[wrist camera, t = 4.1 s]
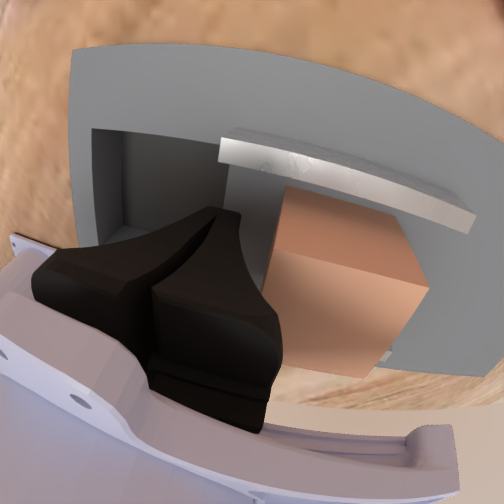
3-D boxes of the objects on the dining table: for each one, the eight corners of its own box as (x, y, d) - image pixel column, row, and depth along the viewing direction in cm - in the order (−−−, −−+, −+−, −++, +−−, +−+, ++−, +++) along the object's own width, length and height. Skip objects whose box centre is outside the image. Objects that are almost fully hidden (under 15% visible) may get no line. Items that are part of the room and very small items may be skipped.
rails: (380, 331, 14) (385, 361, 13) (211, 293, 15) (199, 321, 13) (455, 193, 10) (476, 215, 8) (235, 126, 10) (221, 137, 8)
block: (355, 299, 13) (364, 378, 10) (263, 277, 14) (244, 355, 10) (394, 215, 11) (429, 287, 7) (286, 185, 11) (274, 248, 7)
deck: (474, 348, 18) (484, 376, 16) (110, 264, 19) (88, 291, 17) (566, 196, 10) (592, 218, 8) (109, 49, 11) (72, 49, 9)
